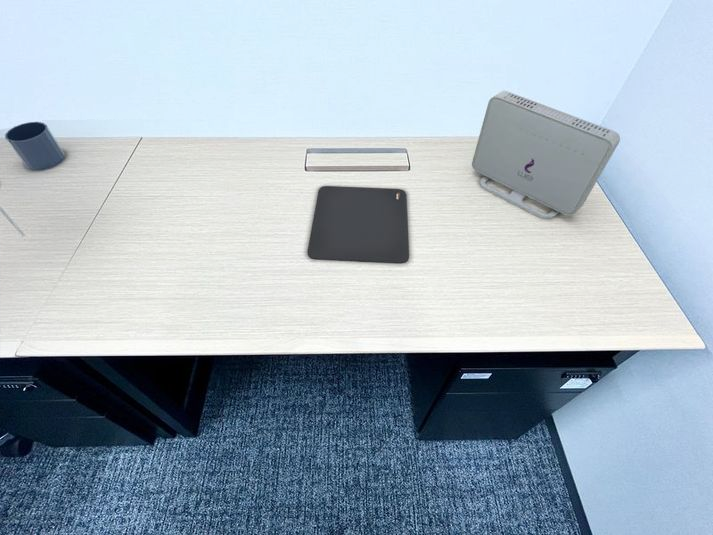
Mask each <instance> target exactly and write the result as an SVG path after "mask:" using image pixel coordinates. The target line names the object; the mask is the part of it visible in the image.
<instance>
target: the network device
mask: <svg viewBox="0 0 713 535" xmlns="http://www.w3.org/2000/svg"><path fill="white" fill-rule="evenodd" d="M620 142H621V135H620V134H619V133H618V132H617V131H615V130H612V129H610V128H607V127H604V126H602V125H598V124H596V123H594V122H591V121H588V120H585V119H584V118H580V117H577V116H574V115H572V114H570V113H566V112H565V111H561V110H559V109H556V108H554V107H550V106H548V105H545V104H542V103H540V102H537V101H535V100H532V99H529V98H526V97H524V96H521V95H518V94H516V93H514V92H510V91H508V90H502V91H500V92H499V93H497V94H496V95H494V96H492V97H491V98H490V99H489V100H488V102H487V106H486V110H485V114H484V118H483V121H482V125H481V128H480V132H479V136H478V139H477V142H476V146H475V150H474V154H473V158H472V161H471V168H472V169H473V170H474V171H475V172H477V173H479V174H480V175H481V174H482V175H483V176H482V177H481V178H480V181H479V184H480V186H481V188H482V189H483V190H485V191H486V192H489V193H491V194H493V195H495V196H496V197H499V198H501V199H503V200H504V201H507V202H508V203H511V204H513V205H514V206H517V207H518V208H520V209H522V210H524V211H526V212H528V213H529V214H532V215H534V216H536V217H538V218H541V219H545V220H547V219H548V220H549V219H554V218H556V217H557V215H558V214H559V213H561V214H563V215H565V216H566V217H567V216H568V217H571V216H574V215H576V214H577V212H578V211H579V210H580V209H581V208H582V207H583V206H584V204H585V202H586V201H587V199H588V197H589V196H590V194H591V192H592V190H593V188H594V187H595V185H596V183H597V182H598V180H599V178H600V176H602V173H603V171H604V169H605V168H606V166H607V164H608V163H609V161H610V159H611V158H612V156H613V154H614V152H615V150H616V149H617V147H618V146H619V144H620ZM490 179H491V180H493V181H495V182H497V183H500V184H501V185H502V186H503V185H504V186H506V187H508V188H509V189H512V191H511V192H510V193H508V194H507V193H503V192H502V191H499V190H497V189H496V188H493V187H491V186H489V185H488V184H486V183H487V182H488V181H489V180H490ZM527 197H528V198H530V199H532V200H534V201H536V202H538V203H540V204H542V205H544V206H546V207H549V209H552V210H551V211H550V213H544V212H542V211H539V210H537V209H536V208H533V207H532V206H529V205H527V204H526V203H524V202H523V201H524V200H525V198H527Z"/></svg>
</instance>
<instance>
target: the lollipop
mask: <svg viewBox="0 0 713 535" xmlns="http://www.w3.org/2000/svg"><path fill="white" fill-rule="evenodd" d="M2 184H3V183H2V179H1V178H0V191H1V190H2V187H3V186H2ZM0 212H1V214H2V215H3V216H4V217H5V219H7V221H8V222H9V223H10V224H11V225H12V226H13V227H14V228H15V230H16V231H17V232H18V233H19V234H20V236H21V237H25V236H26V234H25V232H24V231H23V230H22V229H21V228H20V227H19V225H17V223H16V222H15V221H14V220H13V219H12V218H11V217H10V216H9V214H8V213H7V212H6V211H5V210H4V208H3V207H2V206H0Z"/></svg>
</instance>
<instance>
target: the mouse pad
mask: <svg viewBox="0 0 713 535" xmlns="http://www.w3.org/2000/svg"><path fill="white" fill-rule="evenodd" d="M313 213H314V214H313V219H312V224H311V228H310V229H311V230H310V235H309V241H308V246H307V255H308V257H309V258H310V259H312V260H323V261H339V262H340V261H345V262H364V263H384V264H385V263H386V264H405V263H407V262H408V261H409V257H410V252H409V251H410V249H409V248H410V246H409V226H408V225H409V224H408V202H407V192H406V191H405V190H404V189H400V188H388V187H387V188H385V187H365V186H363V187H361V186H337V185H336V186H335V185H324V186H321V187H319V189H318V191H317V196H316V202H315V206H314V212H313Z"/></svg>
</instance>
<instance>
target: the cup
mask: <svg viewBox="0 0 713 535" xmlns="http://www.w3.org/2000/svg"><path fill="white" fill-rule="evenodd" d="M4 139H5V140H6V142H7V143H8V144H9V145H10V147H11V148H12V150H13V151H14V153H15V154H16V155H17V157H19V159H20V161H21V162H22V164H24V166H26V168H27V169H28V170H31V171H36V172H38V171H45V170H50V169H52V168H55V167H57V166H58V165H60V164H61V163H63V161H64V160H65V158H66V153H65V152H64V150H63V149H62V147H61V146H60V144H59V142H58V141H57V139H56V137H55V136H54V134H53V132H52V131H51V130H50V128H49V126H48V125H47V124H46V123H44V122H41V121H28V122H24V123H20V124H18V125H16V126H14V127H12V128H10V129H9V130H8V131H7V132H5V134H4Z"/></svg>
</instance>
